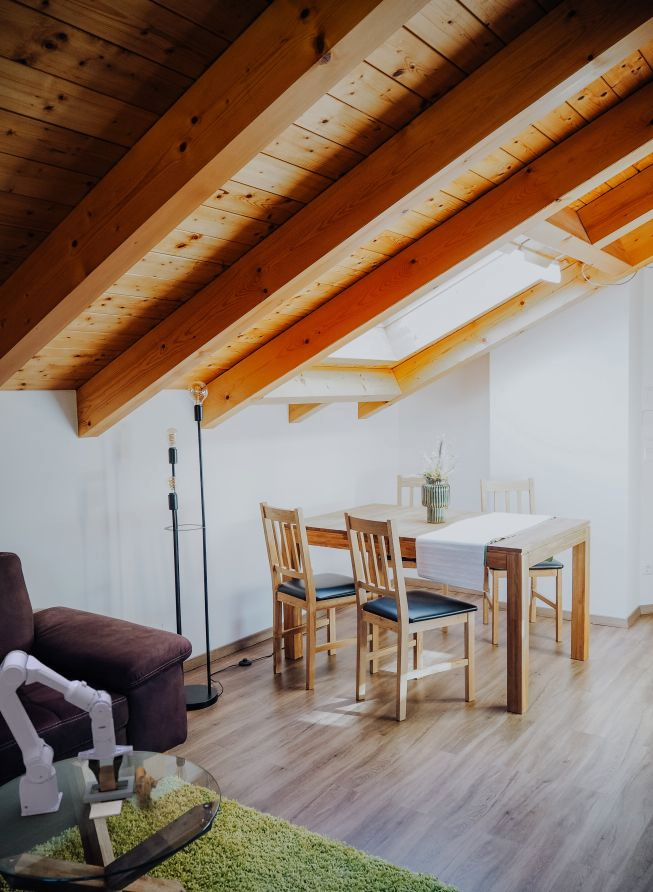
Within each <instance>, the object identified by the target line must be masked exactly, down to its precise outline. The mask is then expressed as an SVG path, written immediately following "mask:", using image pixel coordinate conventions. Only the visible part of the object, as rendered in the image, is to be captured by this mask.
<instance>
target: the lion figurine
mask: <svg viewBox="0 0 653 892" xmlns="http://www.w3.org/2000/svg"><path fill="white" fill-rule="evenodd" d="M134 776H135V786H134V792H133V794H137V798H138V799H137V800H138V806H143V805H144V800H143V797H146V800H147V802H151V801H153V798H152V797H151V793H152V791H153V789H156V788H157V786H158V784H159V781H158V780H156V779H154V778H153V777H152V775H151V774H148V773H147V770H146V768H145V767H144V766H138V767H137V768H136V769H135V771H134Z"/></svg>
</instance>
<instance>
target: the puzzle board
mask: <svg viewBox="0 0 653 892" xmlns="http://www.w3.org/2000/svg"><path fill="white" fill-rule="evenodd" d="M119 786H126V787H127V788H125V789H118V790H108V791H101V792H95V793H93V791H92V789H93V790H98V789H100V784H98V782H97V780H92V781H87V782H86V786H85V789H84V794H83V797H82V801H83V802H82V803H83V804H90V803H96V802H105V801H112V800H117V799H119V800H120V799H125V798H133V797H134V790H135V775H129V776H121V777H119V779H118V782H117V784H116V787H119ZM95 788H97V789H95Z"/></svg>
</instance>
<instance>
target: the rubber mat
mask: <svg viewBox="0 0 653 892" xmlns="http://www.w3.org/2000/svg"><path fill="white" fill-rule="evenodd" d="M122 806H123V799H122V800H120V799H119V800H114V801H107V802H100V803H94V804H91V808H90V812H89V820H95V819H101V818H108V817H115V816H120V815H121V812H122V808H123V807H122Z"/></svg>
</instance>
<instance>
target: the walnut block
mask: <svg viewBox="0 0 653 892" xmlns="http://www.w3.org/2000/svg"><path fill="white" fill-rule="evenodd" d="M99 780H100V788H99V789H100V792H106V791H113V790H116V789H117V786H116V784H117V782H115V771H114V766H113V764H109V765H100V772H99Z"/></svg>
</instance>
